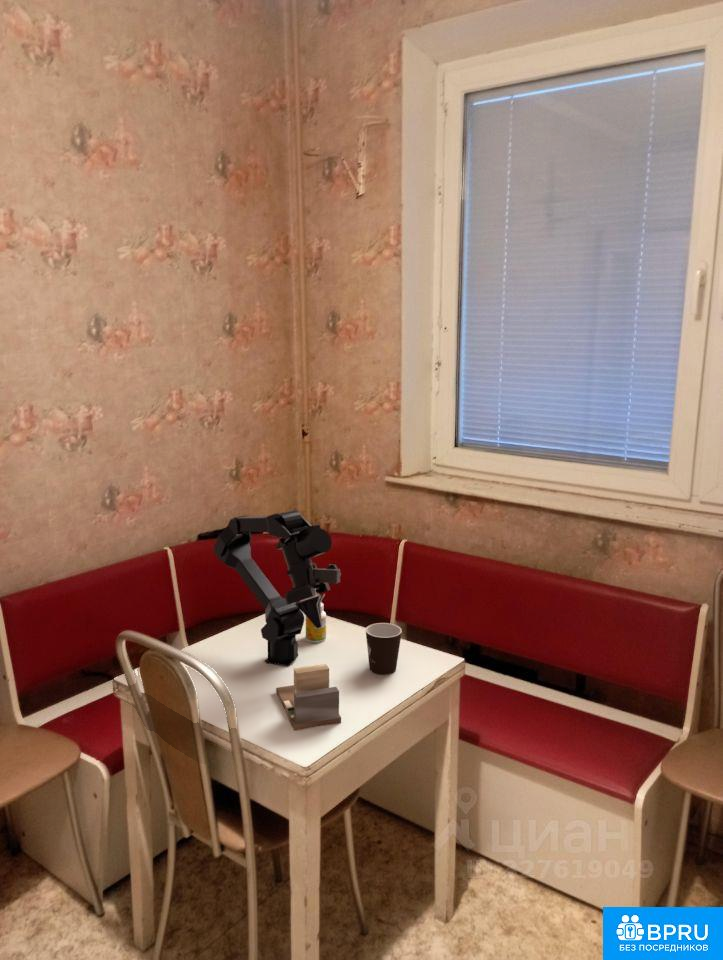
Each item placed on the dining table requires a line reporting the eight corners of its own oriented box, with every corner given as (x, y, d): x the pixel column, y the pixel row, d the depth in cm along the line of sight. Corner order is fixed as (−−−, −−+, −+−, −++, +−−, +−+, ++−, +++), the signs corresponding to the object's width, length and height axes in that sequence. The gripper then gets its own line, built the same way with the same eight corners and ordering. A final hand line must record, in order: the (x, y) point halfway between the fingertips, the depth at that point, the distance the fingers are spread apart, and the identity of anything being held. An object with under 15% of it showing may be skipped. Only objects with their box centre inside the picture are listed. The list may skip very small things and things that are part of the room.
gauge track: (276, 692, 161) (276, 662, 160) (319, 686, 164) (319, 656, 163) (294, 730, 146) (294, 698, 144) (341, 722, 149) (341, 690, 148)
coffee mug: (397, 679, 168) (398, 639, 166) (361, 675, 170) (362, 635, 168) (404, 657, 179) (405, 620, 177) (370, 654, 181) (371, 616, 179)
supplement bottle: (302, 636, 191) (302, 602, 189) (321, 633, 193) (322, 599, 191) (309, 644, 186) (309, 609, 184) (328, 641, 188) (329, 606, 186)
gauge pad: (286, 708, 151) (286, 669, 150) (325, 702, 154) (325, 663, 152) (289, 714, 149) (289, 674, 147) (328, 708, 152) (329, 668, 150)
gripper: (321, 553, 157) (343, 622, 155) (339, 551, 176) (359, 612, 174) (275, 569, 159) (296, 637, 157) (297, 565, 177) (316, 626, 175)
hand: (319, 627), depth 166 cm, fingers closed
